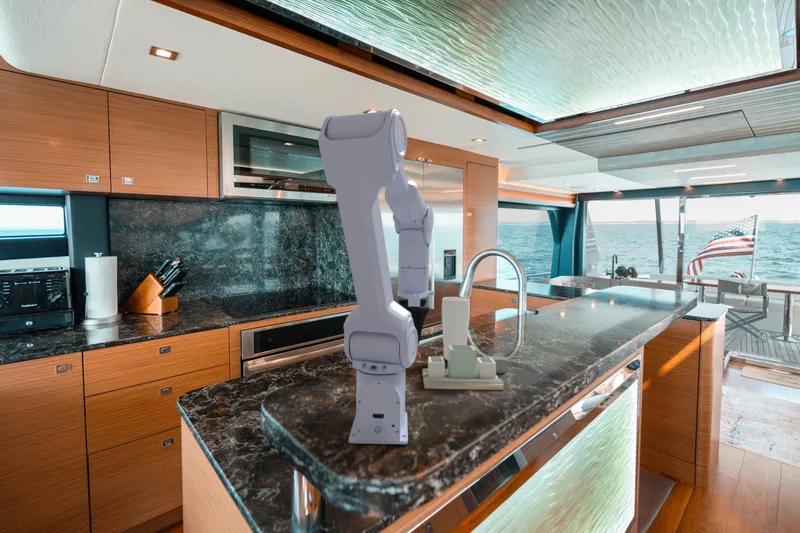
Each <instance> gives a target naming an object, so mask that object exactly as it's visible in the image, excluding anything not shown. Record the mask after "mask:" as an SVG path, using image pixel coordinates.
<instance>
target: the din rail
mask: <svg viewBox="0 0 800 533" xmlns="http://www.w3.org/2000/svg"><path fill="white" fill-rule="evenodd" d="M423 372H428V368H422V373H423ZM445 373H448V368H445ZM424 382H458V383H503V382H504V381H503V379H502V378H499V379H465V378H424V381H423V383H424Z"/></svg>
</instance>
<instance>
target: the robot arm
mask: <svg viewBox="0 0 800 533" xmlns="http://www.w3.org/2000/svg"><path fill="white" fill-rule="evenodd" d="M317 138H318V139H317V140H318V146H319V152H320V157H321V161H322V166H323V172H324V174H325V179H326V184H327V185H328V186H330V187H331V188H333V189H335V196H336V198H337V199H336V200H337V204H338V210H339V215H340V221H341V226H342V231H343V235H344V241H345V245H346V251H347V256H348V257H347V258H348V261H349V262H348V263H349V266H350V271H351V272H350V273H351V276H352V281H353V286H354V291H355V297H356V303H357V306H356V307H355V308H353V309H352V310H351V311H350V313H349V314H348V315H347V317H346V318H345V321H344V323H343V332H344V333H343V334H344V338H343V349H344V353H345V356H346V358H347V360H348V361H349V362H350V363H351V362H352V364H351V367H352V369H356V386H355V387H356V396H355V397H356V398H355V402H356V404H355V407H356V408H355V416H354V420H353V423H352V426H351V430H350V433H349V437H348V443H349V444H361V445H363V444H367V445H368V444H369V445H370V444H371V445H377V444H378V445H407V444H408V443H409V437H408V436H409V435H408V433H409V432H408V431H409V429H408V412H406V369H409V368H410V367H411V366H412V365H413V364H414V362H415V360H416V357H417V354H418V346H419V345H420V342H421V337H422V332H423V326H424V322H425V320H426V318H427V315H428V313H429V311H430V306H426V304H427V299H426V298H427V297H429V296H435V291H434V290H429V273H430V272H429V268H430V267H429V266H430V263H429V262H430V254H429V253H430V244H431V242H432V233H433V229H434V212H433V207H432V206H429V205H428V204H427V203H425V202H424V199H423V197H422V195H421V192H420V189H419V188H418V185H417V184H416V183H415V181H414V180H412V179H410V178H408V177H407V174H406V170H405V167H404V164H403V163H404V157H405V155H406V153H407V146H408V133H407V127H406V122H405V120H404V117H403V115H402V114H401V113H400V111H399V110H398V109H396V108H392V109H391V108H390V109H389V110H386V111H383V110H382V111H373V112H365V113H364V112H363V113H357V114H356V113H355V114H348V115H347V114H346V115H338V116H337V115H328V116H327V117H326V118H325V119H324V120H323V123H322V126H321V128H320V131H319V133H318V137H317ZM382 188H385V191H384V199H385V200H384V201H385V202H386V204H387V206H388V207H389V209H390V210H391V212H392V221H393V223H394V230H395V232H396V233H397V235H398V265H397V266H398V273H397V275H398V276H397V291H396V295H397V296H398V297H401V298H404V299H401V298H400V299H398V303H397V302H396V301H395V300H394V295H393V287H392V280H391V274H390V267H389V261H388V253H387V246H386V240H385V233H384V225H383V219H382V213H381V205H380V198H379V195H380V194H379V193H380V191H381V189H382Z"/></svg>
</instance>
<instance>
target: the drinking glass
mask: <svg viewBox="0 0 800 533" xmlns="http://www.w3.org/2000/svg"><path fill="white" fill-rule="evenodd" d="M470 311H471V299H470V298H469V297H463V296H462V297H461V296H445V297H442V301H441V324H442V325H441V326H442V340H443V343H442V344H443V359H444V361H447V362H448V345H468V336H469V326H470V320H471V319H470V317H471V312H470Z"/></svg>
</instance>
